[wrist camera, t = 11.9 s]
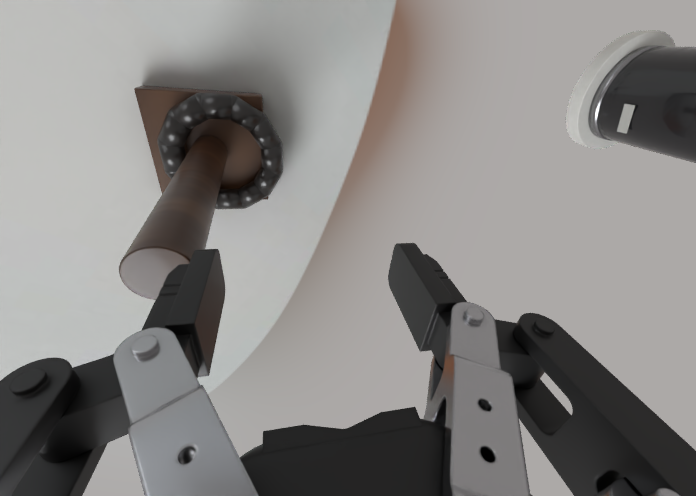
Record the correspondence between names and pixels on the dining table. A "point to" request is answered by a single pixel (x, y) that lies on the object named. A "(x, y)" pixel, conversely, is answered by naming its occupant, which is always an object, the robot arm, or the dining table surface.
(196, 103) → the ring
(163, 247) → the brown peg stand
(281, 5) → the dining table surface
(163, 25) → the dining table surface
